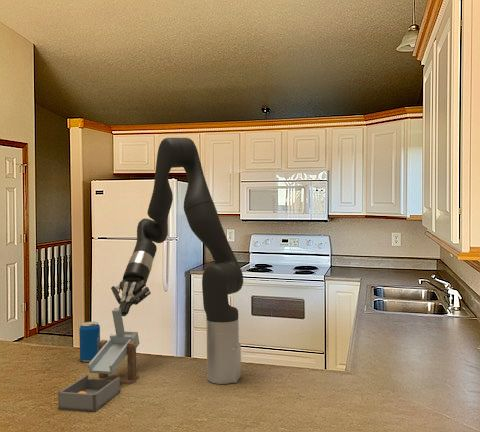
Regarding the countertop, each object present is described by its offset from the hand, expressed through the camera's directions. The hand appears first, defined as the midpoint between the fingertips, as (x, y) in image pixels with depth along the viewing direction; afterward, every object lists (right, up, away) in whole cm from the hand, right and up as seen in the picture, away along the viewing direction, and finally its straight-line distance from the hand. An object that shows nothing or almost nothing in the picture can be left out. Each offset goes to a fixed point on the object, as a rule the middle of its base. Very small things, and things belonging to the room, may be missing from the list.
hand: (122, 314), depth 141 cm
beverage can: (-14, -18, +16) cm, 29 cm away
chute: (-1, -13, -4) cm, 13 cm away
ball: (-5, -16, -22) cm, 28 cm away
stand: (0, -18, -3) cm, 18 cm away
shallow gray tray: (-4, -18, -18) cm, 26 cm away
